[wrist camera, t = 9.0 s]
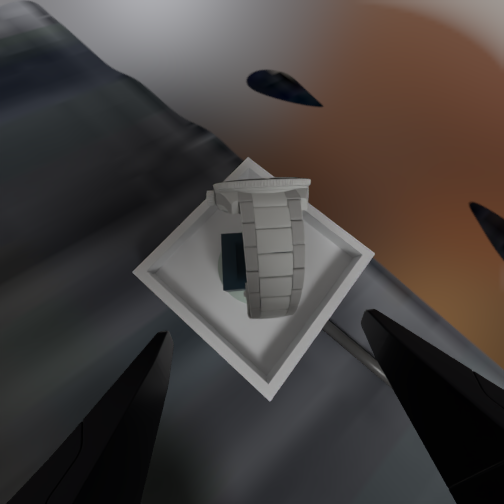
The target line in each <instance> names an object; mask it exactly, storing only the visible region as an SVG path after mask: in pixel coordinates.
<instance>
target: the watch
mask: <svg viewBox="0 0 504 504" xmlns="http://www.w3.org/2000/svg"><path fill="white" fill-rule="evenodd" d="M310 182H311V180H310V179H306V178H296V177H277V178H276V177H275V178H254V179H240V180H231V181H224V182H220V183H216V184H214V185H213V187H214V190H216V193H215V191H214V190H212V191H207V193H206V197H207V203H208V206H216V203H217V206H218V209H219V210H221V211H224V212H226V213H230V214H241V224H242V233H227V234H221V249H222V274H223V291H226V292H232V291H244V297H246V301H247V314H248V317H249V318H250V319H270V318H279V317H284V316H289V315H293V314H294V313H295V312H296V310H297V308H298V304H299V303H300V299H301V295H302V289H303V285H304V278H305V268H304V267H305V244H303V243H305V234H304V221H303V220H302V219H303V216H302V211H304V210H307V208H308V196H309V188H308V185H310ZM293 244H297V245H293Z"/></svg>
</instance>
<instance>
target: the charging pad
mask: <svg viewBox="0 0 504 504" xmlns="http://www.w3.org/2000/svg"><path fill="white" fill-rule="evenodd" d="M254 178H275V177H273V176H272V175H271V174H269V173H268V172H267V171H266V170H264V169H263V168H261V167H260V166H259V165H257V164H256V163H255V162H254V161H252V160H251V159H250V158H248V157H247V159H246V160H244V161H243V162H242V163H241V164H240V165H239V166H238V167H237V168H236V169H235V170H234V171H233V172H232V173H231V174H230V175H229V176H228V177H227V178H226V179H225V180H224V181H231V180H240V179H254ZM224 181H223V182H224ZM214 191H215V193H216V190H214ZM302 216H303V219H302V220H303V221H304V234H305V243H303V244H305V267H304V268H305V278H304V285H303V289H302V295H301V299H300V303H299V304H298V308H297V310H296V312H295V313H294V314H293V315H289V316H284V317H279V318H270V319H250V318H249V317H248V314H247V301H246V297H244V291H232V292H226V291H223V274H222V249H221V234H227V233H242V224H241V214H230V213H226V212H224V211H221V210H219V209H218V206H217V203H216V206H208V203H207V198H206V199H205V200H204V201H203V202H202V203H201V204H200V205H199V206H198V207H197V208H196V209H195V210H194V211H193V212H192V213H191V214H190V215H189V216H188V217H187V218H186V219H185V220H184V221H183V222H182V223H181V224H180V225H179V226H178V227H177V228H176V229H175V230H174V231H173V232H172V233H171V234H170V235H169V236H168V237H167V238H166V239H165V240H164V241H163V242H162V243H161V244H160V245H159V246H158V247H157V248H156V249H155V250H154V251H153V252H152V253H151V254H150V255H149V256H148V257H147V258H146V259H145V260H144V261H143V262H142V263H141V264H140V265H139V266H138V267H137V268H136V269H135V270H134V271H133V272H132V273H133V274H134V275H136V276H137V277H138V278H139V279H140V280H141V281H142V282H143V283H144V284H145V285H146V286H147V287H148V288H149V289H150V290H152V291H153V292H154V293H155V294H156V295H157V296H158V297H159V298H160V299H161V300H162V301H163V302H164V303H165V304H166V305H168V306H169V307H170V308H171V309H172V310H173V311H174V312H175V313H176V314H177V315H178V316H179V317H180V318H181V319H182V320H183V321H185V322H186V323H187V324H188V325H189V326H190V327H191V328H192V329H193V330H194V331H195V332H196V333H197V334H198V335H199V336H201V337H202V338H203V339H204V340H205V341H206V342H207V343H208V344H209V345H210V346H211V347H212V348H213V349H214V350H215V351H217V352H218V353H219V354H220V355H221V356H222V357H223V358H224V359H225V360H226V361H227V362H228V363H229V364H230V365H231V366H233V367H234V368H235V369H236V370H237V371H238V372H239V373H240V374H241V375H242V376H243V377H244V378H245V379H246V380H247V381H249V382H250V383H251V384H252V385H253V386H254V387H255V388H256V389H257V390H258V391H259V392H260V393H261V394H262V395H263V396H264V397H266V398H267V399H268V400H269V401H271V400H272V398H273V397H274V395H275V394H276V393H277V391H278V390H279V388H280V387H281V386H282V384H283V383H284V381H285V380H286V379H287V377H288V376H289V374H290V373H291V371H292V370H293V369H294V367H295V366H296V364H297V363H298V362H299V360H300V359H301V357H302V356H303V355H304V353H305V352H306V350H307V349H308V348H309V346H310V345H311V343H312V342H313V341H314V339H315V338H316V336H317V335H318V333H319V332H320V331H321V329H322V330H323V331H325V332H326V333H327V334H328V335H329V336H331V337H332V338H333V339H334V340H335V341H336V342H338V343H339V344H340V345H341V346H342V347H344V348H345V349H346V350H347V351H348V352H349V353H351V354H352V355H353V356H354V357H355V358H357V359H358V360H359V361H360V362H361V363H362V364H364V365H365V366H366V367H367V368H368V369H370V370H371V371H372V372H373V373H374V374H375V375H377V376H378V377H379V378H380V379H381V380H383V381H384V382H385V383H386V384H387V385H388V386H390V387H391V385H390V383H389V381H388V379H387V378H386V376H385V374H384V372H383V370H382V369H381V367H380V365H379V363H378V361H377V360H376V359H374V358H373V357H372V356H371V355H370V354H368V353H367V352H366V351H365V350H364V349H362V348H361V347H360V346H359V345H358V344H356V343H355V342H354V341H353V340H352V339H350V338H349V337H348V336H347V335H346V334H344V333H343V332H342V331H341V330H340V329H338V328H337V327H336V326H335V325H334V324H332V323H331V322H330V321H329V320H328V319H329V318H330V317H331V315H332V314H333V312H334V311H335V310H336V308H337V307H338V305H339V304H340V303H341V301H342V300H343V298H344V297H345V295H346V294H347V293H348V291H349V290H350V288H351V287H352V286H353V284H354V283H355V281H356V280H357V279H358V277H359V276H360V274H361V273H362V272H363V270H364V269H365V267H366V266H367V264H368V263H369V262H370V260H371V259H372V257H373V256H374V255H375V253H374V252H372V251H371V250H370V249H368V248H367V247H366V246H364V245H363V244H362V243H360V242H359V241H358V240H356V239H355V238H354V237H353V236H351V235H350V234H349V233H347V232H346V231H345V230H343V229H342V228H341V227H339V226H338V225H337V224H335V223H334V222H333V221H331V220H330V219H329V218H328V217H326V216H325V215H324V214H322V213H321V212H320V211H318V210H317V209H316V208H314V207H313V206H312V205H310V204H309V203H308V208H307V210H304V211H302ZM293 245H297V244H293ZM391 388H392V387H391ZM392 389H393V388H392Z"/></svg>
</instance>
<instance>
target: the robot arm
mask: <svg viewBox="0 0 504 504" xmlns="http://www.w3.org/2000/svg"><path fill="white" fill-rule="evenodd" d="M361 326H362V328H363V331H364V333H365V335H366V337H367V340H368V342H369V344H370V346H371V349H372V351H373V353H374V355H375V358H376V360H377V361H378V363H379V365H380V367H381V369H382V370H383V372H384V374H385V376H386V378H387V379H388V381H389V383H390V385H391V387H392V388H393V390H394V392H395V394H396V396H397V397H398V399H399V401H400V403H401V405H402V406H403V408H404V410H405V412H406V414H407V415H408V417H409V419H410V421H411V422H412V424H413V426H414V428H415V430H416V431H417V433H418V435H419V437H420V439H421V440H422V442H423V444H424V446H425V448H426V449H427V451H428V453H429V455H430V457H431V458H432V460H433V462H434V464H435V465H436V467H437V469H438V471H439V473H440V474H441V476H442V478H443V480H444V482H445V483H446V485H447V487H448V488H449V491H450V493H451V494H452V496H453V498H454V500H455V502H456V503H457V504H504V390H503V389H502V388H500V387H498V386H497V385H495V384H494V383H492V382H490V381H489V380H487V379H485V378H484V377H482V376H481V375H479V374H478V373H476V372H474V371H472V370H471V369H470V368H468V367H466V366H465V365H463V364H462V363H460V362H458V361H457V360H455V359H454V358H452V357H450V356H449V355H447V354H446V353H444V352H443V351H441V350H439V349H438V348H436V347H435V346H433V345H431V344H430V343H428V342H427V341H425V340H423V339H422V338H420V337H419V336H417V335H416V334H414V333H412V332H411V331H409V330H408V329H406V328H404V327H403V326H401V325H400V324H398V323H397V322H395V321H393V320H392V319H390V318H389V317H387V316H385V315H384V314H382V313H381V312H379V311H377V310H375V309H368V310H365V312H364V314H363V317H362V320H361ZM173 346H174V345H173V340H172V338H171V335H170V333H169V332H168V331H161V332H158V333H157V334H156V335H155V336H154V338H153V339H152V340H151V341H150V342H149V343H148V345H147V346H146V347H145V348H144V349H143V350H142V352H141V353H140V354H139V355H138V356H137V357H136V359H135V360H134V361H133V362H132V363H131V364H130V366H129V367H128V368H127V369H126V370H125V371H124V373H123V374H122V375H121V376H120V377H119V378H118V380H117V381H116V382H115V383H114V384H113V385H112V387H111V388H110V389H109V390H108V391H107V392H106V394H105V395H104V396H103V397H102V398H101V399H100V401H99V402H98V403H97V404H96V405H95V407H94V408H93V409H92V410H91V411H90V412H89V414H88V415H87V416H86V417H85V418H84V420H83V422H81V423H80V424H79V425H78V426H77V427H76V429H75V430H74V431H73V432H72V433H71V434H70V436H69V437H68V438H67V439H66V440H65V441H64V442H63V444H62V445H61V446H60V447H59V448H58V449H57V450H56V451H55V453H54V454H53V455H52V456H51V457H50V458H49V459H48V460H47V461H46V462H45V463H44V465H43V466H42V467H41V468H40V469H39V470H38V471H37V472H36V473H35V474H34V475H33V476H32V477H31V478H30V479H29V481H28V482H27V483H26V484H25V485H24V486H23V487H22V488H21V489H20V490H19V491H18V492H17V493H16V494H15V495H14V496H13V497H12V498H11V499H10V500H9V501H8V502H7V504H140V502H141V498H142V494H143V489H144V485H145V481H146V477H147V473H148V468H149V464H150V460H151V456H152V452H153V447H154V443H155V439H156V435H157V431H158V426H159V422H160V418H161V414H162V410H163V406H164V401H165V397H166V393H167V389H168V384H169V377H170V370H171V362H172V355H173Z"/></svg>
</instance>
